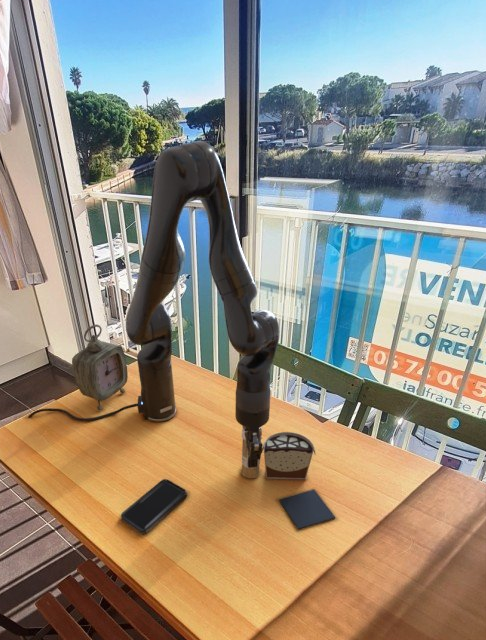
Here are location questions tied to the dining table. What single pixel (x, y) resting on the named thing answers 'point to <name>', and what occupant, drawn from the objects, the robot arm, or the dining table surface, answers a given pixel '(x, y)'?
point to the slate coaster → (306, 509)
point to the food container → (287, 455)
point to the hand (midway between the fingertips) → (250, 459)
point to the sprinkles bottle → (245, 469)
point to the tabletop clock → (100, 369)
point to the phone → (154, 506)
